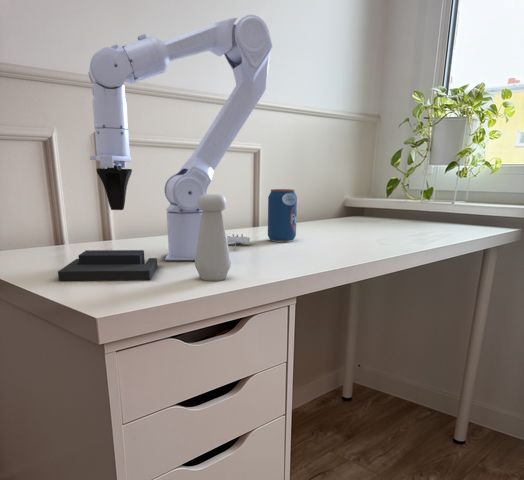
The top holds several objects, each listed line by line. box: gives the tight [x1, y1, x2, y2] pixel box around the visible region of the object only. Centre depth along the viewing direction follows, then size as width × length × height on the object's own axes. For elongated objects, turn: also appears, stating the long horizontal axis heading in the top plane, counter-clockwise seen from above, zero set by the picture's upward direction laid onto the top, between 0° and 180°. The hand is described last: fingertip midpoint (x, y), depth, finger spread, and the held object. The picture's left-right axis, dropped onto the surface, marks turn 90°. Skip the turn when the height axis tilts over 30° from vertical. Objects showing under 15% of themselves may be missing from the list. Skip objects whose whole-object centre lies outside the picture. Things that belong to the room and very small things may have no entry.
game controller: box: [226, 233, 251, 249], centre depth 117 cm, size 6×12×3 cm, turn 16°
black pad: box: [57, 257, 158, 282], centre depth 86 cm, size 14×12×2 cm
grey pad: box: [78, 249, 146, 265], centre depth 89 cm, size 10×6×3 cm, turn 95°
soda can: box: [267, 188, 298, 243], centre depth 125 cm, size 7×7×12 cm
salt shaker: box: [194, 193, 232, 282], centre depth 81 cm, size 6×6×13 cm
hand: (117, 209), depth 95 cm, fingers closed
